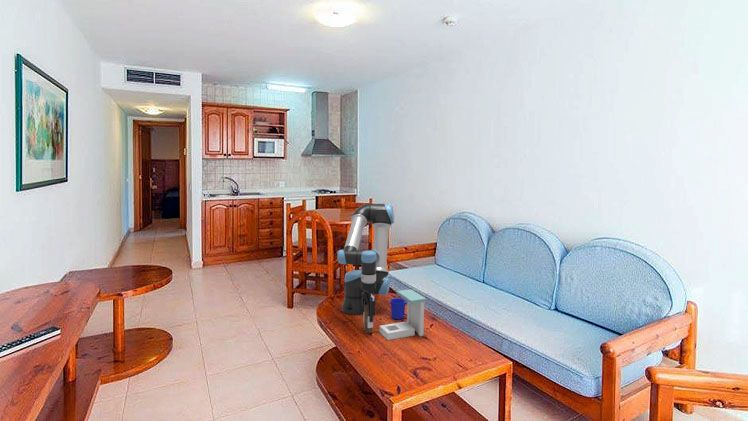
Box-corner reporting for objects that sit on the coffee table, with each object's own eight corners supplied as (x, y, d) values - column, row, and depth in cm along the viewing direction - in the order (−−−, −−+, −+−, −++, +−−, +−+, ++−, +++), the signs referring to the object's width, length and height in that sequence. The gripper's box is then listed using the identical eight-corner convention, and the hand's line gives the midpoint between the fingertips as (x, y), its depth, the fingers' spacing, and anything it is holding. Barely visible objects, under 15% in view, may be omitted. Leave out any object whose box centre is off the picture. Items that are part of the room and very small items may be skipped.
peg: (363, 330, 206) (363, 304, 205) (370, 329, 208) (370, 303, 206) (366, 333, 203) (366, 307, 201) (373, 332, 204) (373, 306, 203)
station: (377, 330, 207) (377, 293, 205) (410, 324, 215) (410, 289, 213) (390, 342, 193) (390, 303, 190) (425, 336, 200) (426, 298, 198)
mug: (410, 321, 219) (411, 304, 218) (389, 319, 221) (389, 302, 220) (412, 316, 227) (412, 299, 226) (391, 314, 229) (391, 297, 228)
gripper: (355, 277, 209) (355, 320, 212) (368, 287, 193) (368, 333, 195) (368, 276, 212) (368, 318, 215) (382, 285, 196) (382, 331, 198)
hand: (368, 325), depth 205 cm, fingers open, 5 cm apart
